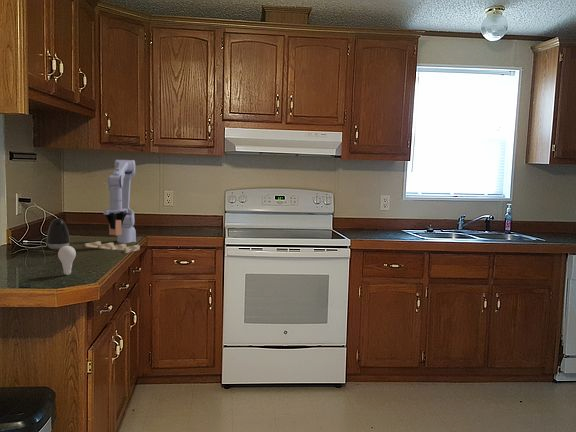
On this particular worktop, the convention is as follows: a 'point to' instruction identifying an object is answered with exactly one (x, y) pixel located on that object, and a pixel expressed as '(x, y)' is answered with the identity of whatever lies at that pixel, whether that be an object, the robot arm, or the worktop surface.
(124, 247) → the notched rack
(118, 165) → the robot arm
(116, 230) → the block
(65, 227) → the dark grey dome
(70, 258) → the lightbulb
